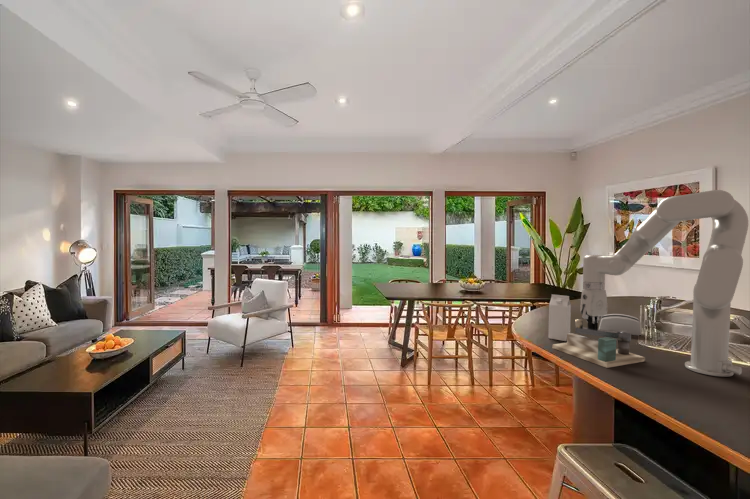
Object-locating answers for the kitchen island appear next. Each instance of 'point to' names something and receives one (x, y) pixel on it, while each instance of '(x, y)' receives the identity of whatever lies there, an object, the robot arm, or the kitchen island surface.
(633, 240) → the robot arm
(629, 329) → the grey curved block
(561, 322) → the milk carton
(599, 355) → the base
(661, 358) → the kitchen island surface
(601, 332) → the swing bar
